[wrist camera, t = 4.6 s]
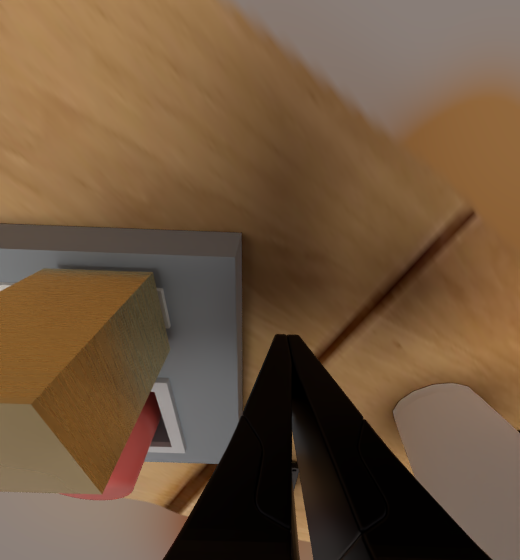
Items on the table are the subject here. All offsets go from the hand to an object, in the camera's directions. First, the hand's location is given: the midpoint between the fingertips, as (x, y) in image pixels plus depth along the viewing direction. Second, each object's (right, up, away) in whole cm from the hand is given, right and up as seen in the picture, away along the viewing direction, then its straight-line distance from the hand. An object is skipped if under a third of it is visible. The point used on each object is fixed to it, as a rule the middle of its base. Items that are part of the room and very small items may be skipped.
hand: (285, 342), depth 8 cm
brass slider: (-7, +1, +1) cm, 7 cm away
